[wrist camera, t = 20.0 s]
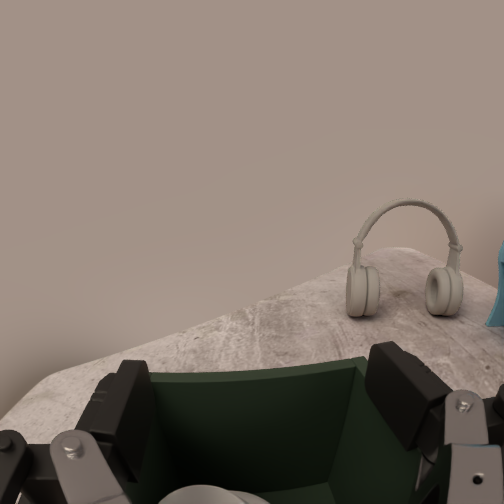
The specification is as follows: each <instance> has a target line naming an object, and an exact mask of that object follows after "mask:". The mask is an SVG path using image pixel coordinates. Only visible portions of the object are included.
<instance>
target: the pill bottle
mask: <svg viewBox="0 0 504 504" xmlns="http://www.w3.org/2000/svg"><path fill="white" fill-rule="evenodd" d="M158 504H270V503H269V502H267V501H266V500H264V499H262V498H260V497H258V496H256V495H253V494H250V493H246V492H241V491H228V490H225V489H223V488H220V487H216V486H210V485H193V486H187V487H184V488H181V489H178V490H176V491H174V492H172V493H170V494H168V495H167V496H166V497H165V498H163V499H162V500H161V501H160V502H159V503H158Z"/></svg>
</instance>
